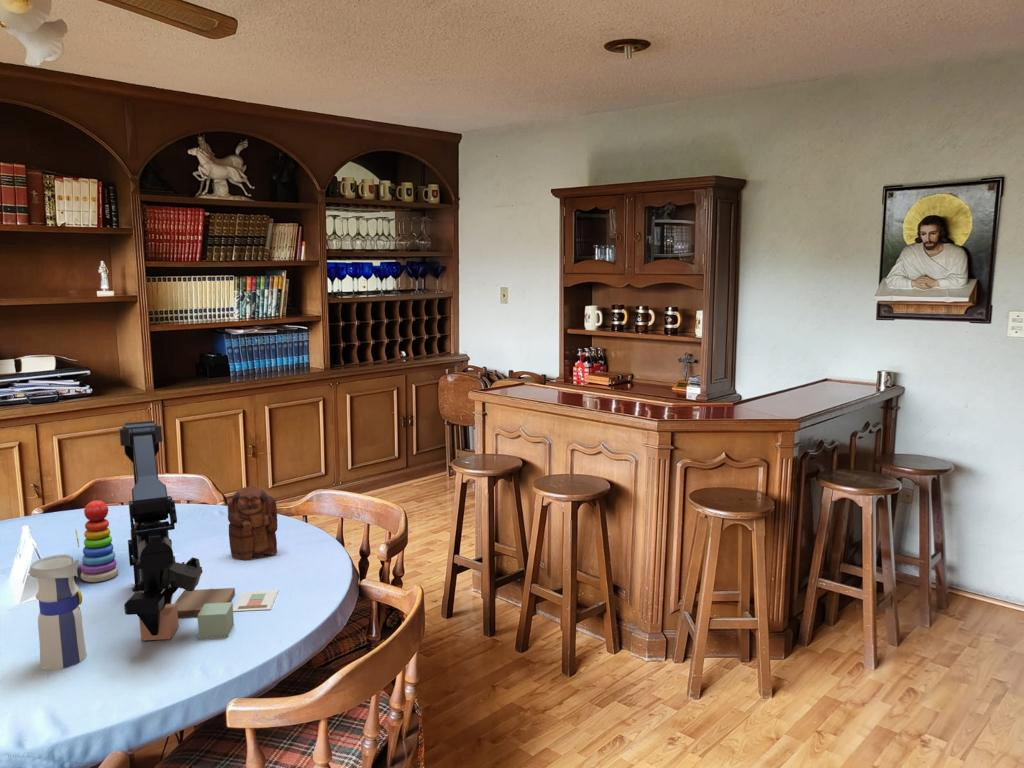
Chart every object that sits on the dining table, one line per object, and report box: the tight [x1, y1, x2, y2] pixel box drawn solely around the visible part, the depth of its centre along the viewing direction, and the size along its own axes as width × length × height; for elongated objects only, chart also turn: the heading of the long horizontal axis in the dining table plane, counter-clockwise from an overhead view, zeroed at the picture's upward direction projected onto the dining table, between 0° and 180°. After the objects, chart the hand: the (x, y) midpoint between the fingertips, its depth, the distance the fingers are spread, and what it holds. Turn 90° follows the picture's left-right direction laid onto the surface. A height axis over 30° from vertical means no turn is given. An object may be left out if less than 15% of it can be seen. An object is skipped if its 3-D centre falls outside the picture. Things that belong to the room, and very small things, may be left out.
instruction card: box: [233, 589, 279, 613], centre depth 174 cm, size 8×10×1 cm
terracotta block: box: [138, 602, 179, 641], centre depth 158 cm, size 6×6×5 cm
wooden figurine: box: [227, 486, 278, 561], centre depth 201 cm, size 12×6×18 cm, turn 112°
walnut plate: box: [174, 587, 236, 619], centre depth 172 cm, size 11×11×2 cm
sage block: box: [197, 601, 235, 640], centre depth 160 cm, size 6×6×5 cm
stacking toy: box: [80, 499, 119, 583], centre depth 187 cm, size 8×8×19 cm
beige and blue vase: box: [29, 529, 88, 671], centre depth 147 cm, size 8×9×25 cm
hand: (159, 628), depth 159 cm, fingers closed on terracotta block, 5 cm apart
